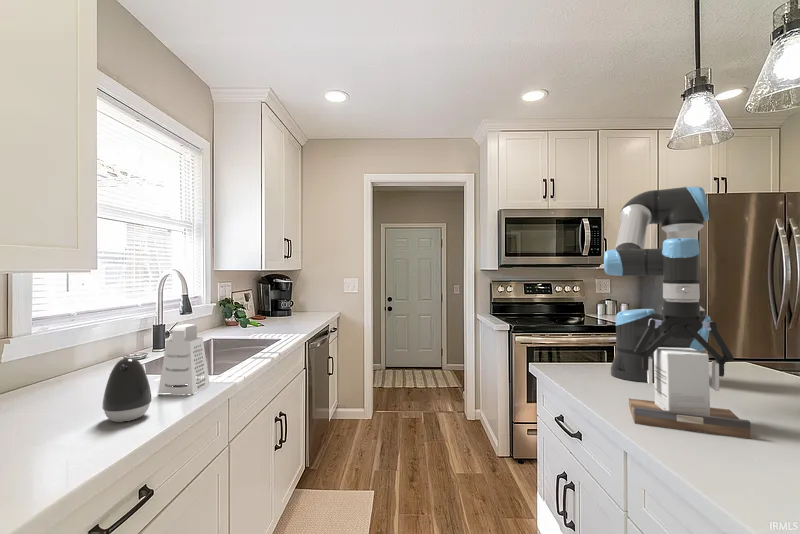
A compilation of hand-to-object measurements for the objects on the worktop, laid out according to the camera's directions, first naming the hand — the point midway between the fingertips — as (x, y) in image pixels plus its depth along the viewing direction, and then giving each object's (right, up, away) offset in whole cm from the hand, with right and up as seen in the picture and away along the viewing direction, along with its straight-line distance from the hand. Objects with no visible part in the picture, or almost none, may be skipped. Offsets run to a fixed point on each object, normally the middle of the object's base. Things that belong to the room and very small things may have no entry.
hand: (681, 386), depth 101 cm
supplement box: (0, -6, 0) cm, 6 cm away
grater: (-137, -9, +26) cm, 139 cm away
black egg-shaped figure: (-138, -8, +1) cm, 138 cm away
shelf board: (-1, -8, -1) cm, 8 cm away
